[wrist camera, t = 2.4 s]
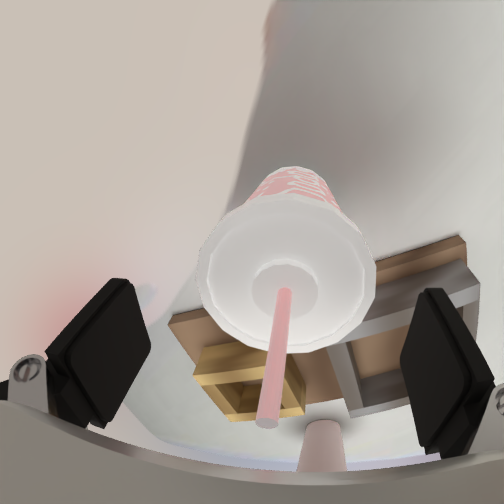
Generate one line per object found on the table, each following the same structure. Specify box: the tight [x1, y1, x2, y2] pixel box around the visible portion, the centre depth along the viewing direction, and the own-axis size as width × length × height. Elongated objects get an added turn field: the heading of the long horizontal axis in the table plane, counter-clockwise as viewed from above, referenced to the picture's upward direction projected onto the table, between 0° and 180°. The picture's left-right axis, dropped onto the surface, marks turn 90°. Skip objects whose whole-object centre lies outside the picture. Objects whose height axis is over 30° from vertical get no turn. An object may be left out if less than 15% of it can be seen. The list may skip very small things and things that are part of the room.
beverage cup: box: [195, 166, 376, 429], centre depth 12 cm, size 6×6×14 cm
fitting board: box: [168, 235, 480, 422], centre depth 20 cm, size 22×12×4 cm, turn 113°
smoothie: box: [296, 420, 347, 472], centre depth 22 cm, size 6×6×14 cm
